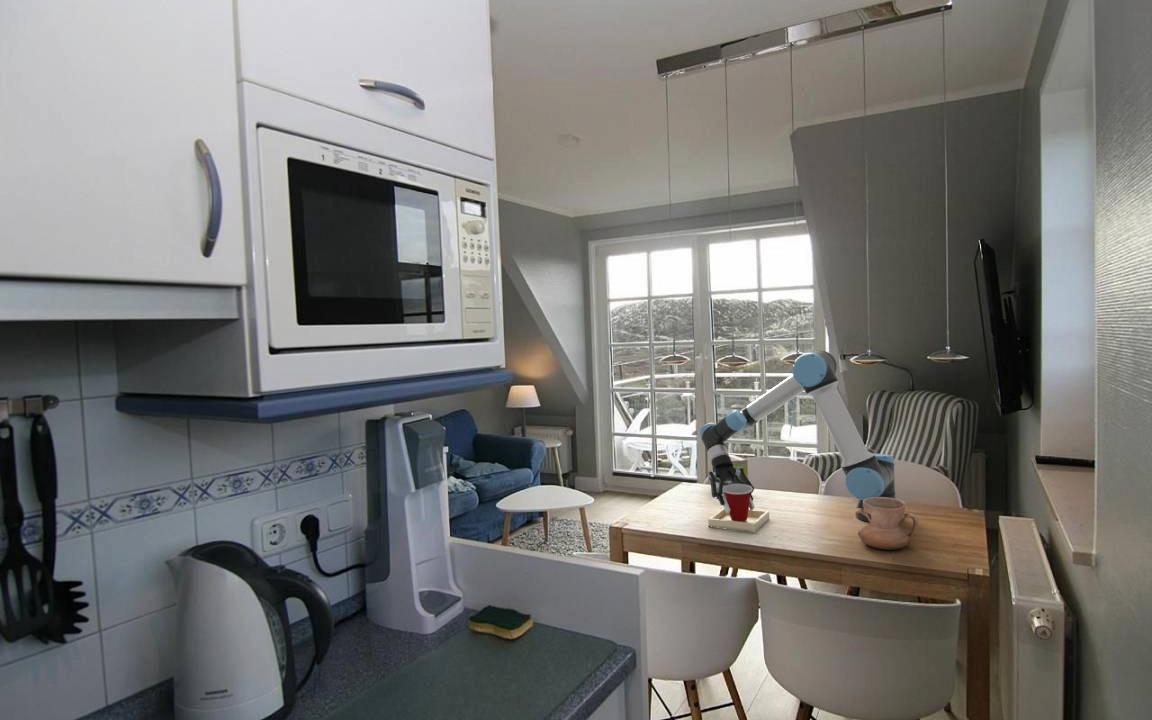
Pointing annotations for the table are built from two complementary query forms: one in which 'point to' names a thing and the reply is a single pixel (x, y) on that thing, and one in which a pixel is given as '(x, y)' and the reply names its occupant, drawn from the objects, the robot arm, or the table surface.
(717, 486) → the tea box
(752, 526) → the tray
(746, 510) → the plastic cup
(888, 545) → the ceramic jug
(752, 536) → the table surface
